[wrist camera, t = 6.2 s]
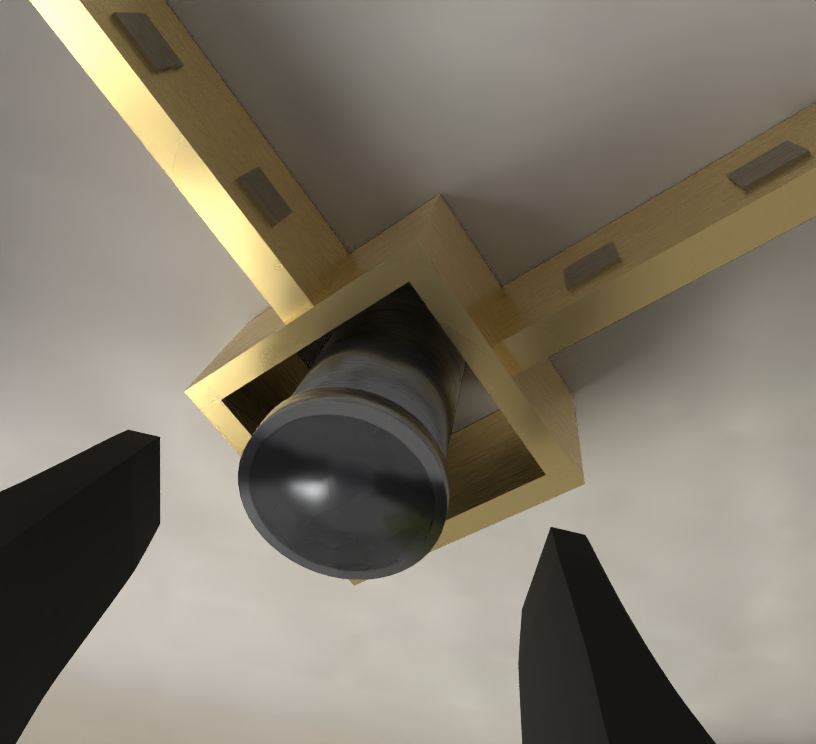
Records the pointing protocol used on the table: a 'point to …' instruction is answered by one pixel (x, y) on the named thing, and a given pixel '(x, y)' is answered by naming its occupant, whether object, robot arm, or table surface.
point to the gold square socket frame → (419, 259)
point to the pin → (360, 446)
